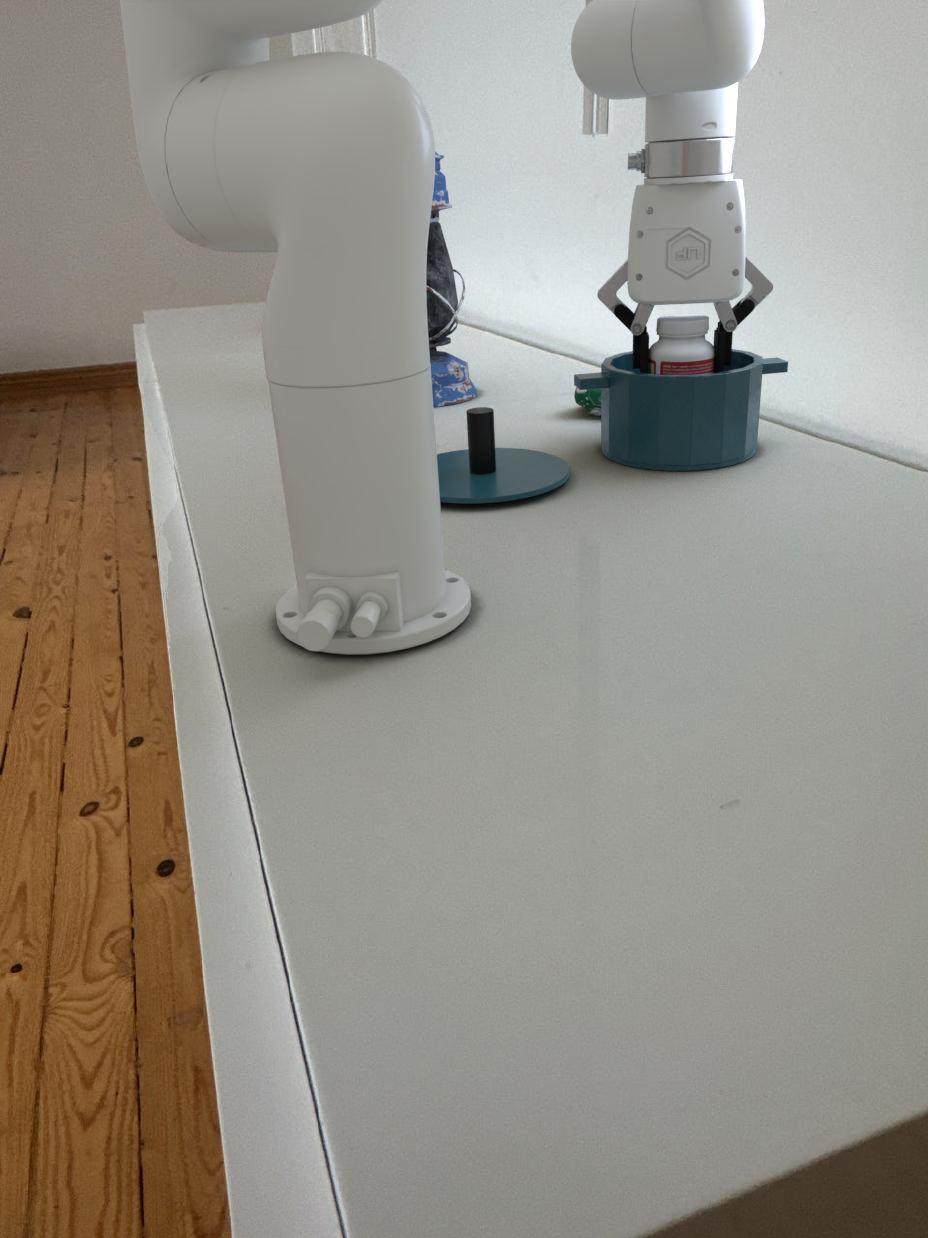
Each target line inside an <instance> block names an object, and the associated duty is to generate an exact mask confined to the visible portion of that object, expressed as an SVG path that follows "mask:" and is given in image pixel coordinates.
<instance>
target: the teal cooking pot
mask: <svg viewBox="0 0 928 1238" xmlns="http://www.w3.org/2000/svg"><path fill="white" fill-rule="evenodd" d="M632 360H633V350H631V351H625V352H620V353H617V354H614V355H612V356H608V357H605V359H603V361H602V363H601V364H600V366H601V368H600V369H601V371H599V372H590V373H589V372H588V373H587V372H586V373H576V374H574V375H573V385H574V386H575V388H576V387H577V388H578V389H580V390H588V389H599V388H601V415H600V416H601V417H600V448H601V450H602V454H603V455H604V456H605V458H607V459H608V460H611V461H612V462H615V463H617V464H621V465H624V466H626V467H632V468H638V469H644V470H651V471H664V472H666V471H669V472H691V471H694V472H695V471H706V470H713V469H721V468H725V467H730V466H734V465H738V464H741V463H744V462H746V461H748V460H749V459H751V458H753V457H754V456H755V454H756V452H757V449H758V439H759V438H758V437H759V425H760V424H759V423H760V411H761V398H762V397H761V395H762V385H763V383H762V381H763V375H771V374H783V373H788V372H789V371H788V370H789V369H788V368H789V361H787V360H785V359H782V358H779V357H767V358H766V357H765V358H763V356H761V355H759V354H756V353H754V352H751V351H748V350H742V349H735V348H732V353H731V365H730V366H724V372H718V373H706V374H694V375H659V374H646V373H639V369H633V367H632Z"/></svg>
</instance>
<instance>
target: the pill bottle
mask: <svg viewBox="0 0 928 1238" xmlns="http://www.w3.org/2000/svg"><path fill="white" fill-rule="evenodd" d="M655 328H656V329H655V332H656V335H657V336H658V340H657V341H655V342H654V343H652V344H651V345H650V346H649V366H648V374H659V375H694V374H706V373H714V368H715V348H714V346H713V345H714V344H713V343H712V342H710V341H709V340H707V339H706V335H708V334H709V330H710V317H709V316H708V315H704V314H672V315H664V316H660V317H658V318H657V319H656V327H655Z"/></svg>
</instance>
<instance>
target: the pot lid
mask: <svg viewBox="0 0 928 1238" xmlns="http://www.w3.org/2000/svg"><path fill="white" fill-rule="evenodd" d="M465 412H466V428H467V449H460V450H458V449H457V450H453V451H447V452H440V453H437V464H438V478H439V492H440V503H445V504H469V505H470V504H472V505H473V504H492V503H493V504H494V503H502V502H511V501H517V500H522V499H526V498H527V499H528V498H532V497H535V496H539V495H542V494H544V493H548V492H550V491H552V490H555V489H557V488H558V487H561V486H562V485H563V484H565V483H566V482H568V481H567V480H568V479H569V478H570V475H571V467H570V465H569V463H568V462H567V461H566V460H564V459H563V458H561V457H559V456H557V455H555V454H551V453H548V452H545V451H540V450H534V449H526V448H515V447H496V432H495V411H494V408H492V407H486V406H480V407H478V406H477V407H472V408H469V409H467V410H466V411H465Z"/></svg>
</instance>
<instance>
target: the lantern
mask: <svg viewBox="0 0 928 1238" xmlns="http://www.w3.org/2000/svg"><path fill="white" fill-rule="evenodd" d="M444 158H445V155H444V154H439V153H438V152H437V151H436V150H435V180H434V191H433V199H432V208H431V216H430V224H429V234H428V245H427V267H426V295H427V322H428V339H429V353H430V364H431V379H432V393H433V407H434V408H437V407H445V406H452V405H457V404H462V403H465V402H469V401H471V400H473V399H474V398H476V397H478V390H477V388H476V387H475V385H474V383H473V381H472V379H471V378H470V369H469V362H468V361H465V360H464V359H461V358H459V357H457V356H455V355H453V354H451V353H449V352H446V351H441V350H438V349H437V347H443V346H446V345H450V344H451V343H452V339H451V337H449V336H450V335H451V334H453V333H454V332H455V331H456V330H457V328H458V325H459V319H458V314H459V312H460V310H461V307H462V304H463V303H464V300H465V294H466V282H465V279H464V276H463V275H462V274H461V272H459V271H458V270H457V269H454V267H453V264H452V260H451V257H450V254H449V250H448V246H447V243H446V239H445V236H444V233H443V232H444V231H443V228H442V225H441V222H439V221H440V211H442V210H447V209H451V208H453V204H451V203H450V196H449V191H448V189H447V180H446V179H447V178H446V175H445V174H444V173H443V172H442V171H441V169H442V168H441V163H440V162H441V160H443V159H444ZM455 273H456V274H457V275H459V276H460V278H461V281H462V292H461V297H460V300H459V299H458V292H457V285H456V279H455Z"/></svg>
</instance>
